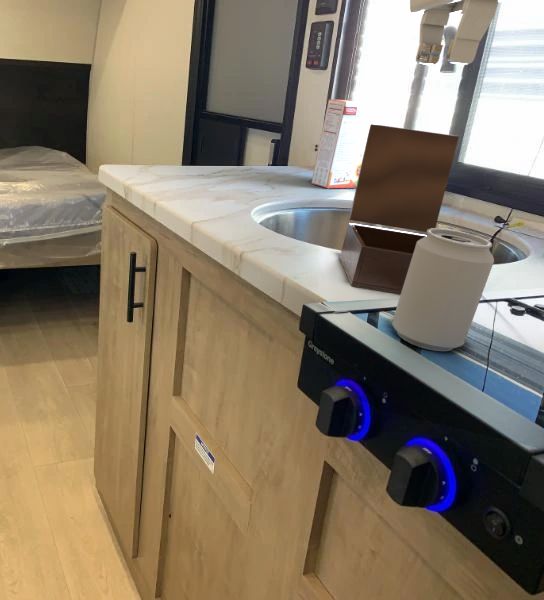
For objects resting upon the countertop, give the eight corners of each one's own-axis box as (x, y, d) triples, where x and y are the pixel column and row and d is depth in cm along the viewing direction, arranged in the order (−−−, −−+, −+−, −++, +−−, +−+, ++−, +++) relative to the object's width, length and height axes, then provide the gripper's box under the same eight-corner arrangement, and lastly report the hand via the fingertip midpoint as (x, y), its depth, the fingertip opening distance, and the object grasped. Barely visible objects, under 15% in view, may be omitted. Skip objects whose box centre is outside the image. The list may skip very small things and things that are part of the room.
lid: (459, 136, 85) (447, 138, 90) (371, 123, 87) (364, 127, 92) (434, 233, 88) (423, 230, 93) (349, 219, 90) (344, 218, 94)
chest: (445, 302, 79) (459, 262, 76) (351, 286, 80) (361, 246, 78) (421, 271, 91) (432, 236, 89) (339, 257, 92) (348, 222, 90)
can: (454, 333, 69) (489, 233, 64) (468, 361, 62) (509, 251, 57) (386, 319, 70) (416, 220, 66) (393, 344, 64) (427, 236, 59)
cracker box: (345, 183, 160) (365, 101, 152) (363, 188, 155) (385, 104, 148) (308, 183, 153) (328, 97, 145) (326, 189, 148) (347, 100, 140)
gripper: (604, -160, 39) (528, 68, 44) (485, -86, 57) (442, 67, 63) (502, -169, 39) (439, 57, 44) (418, -92, 58) (380, 60, 63)
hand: (440, 63), depth 54 cm, fingers open, 8 cm apart
